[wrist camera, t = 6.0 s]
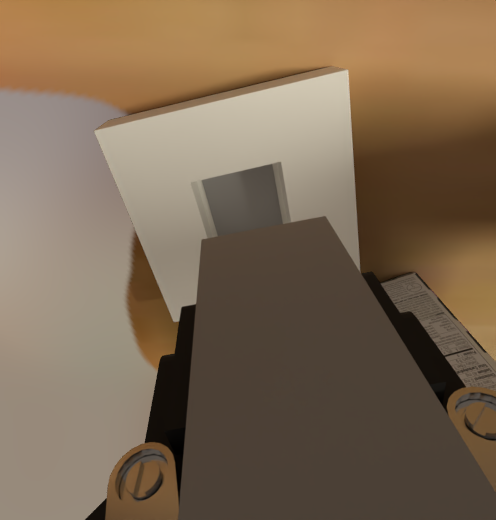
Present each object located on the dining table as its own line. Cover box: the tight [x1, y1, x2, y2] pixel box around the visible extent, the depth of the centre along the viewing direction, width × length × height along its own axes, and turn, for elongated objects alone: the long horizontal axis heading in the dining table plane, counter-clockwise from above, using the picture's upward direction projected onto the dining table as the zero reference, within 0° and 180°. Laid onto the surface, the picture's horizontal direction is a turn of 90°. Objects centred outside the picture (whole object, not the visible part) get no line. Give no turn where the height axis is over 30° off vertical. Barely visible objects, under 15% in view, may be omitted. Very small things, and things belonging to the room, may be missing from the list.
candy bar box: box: [380, 272, 496, 391], centre depth 26 cm, size 11×5×16 cm, turn 19°
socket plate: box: [94, 66, 360, 322], centre depth 24 cm, size 14×14×4 cm
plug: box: [178, 216, 496, 520], centre depth 8 cm, size 4×4×11 cm
